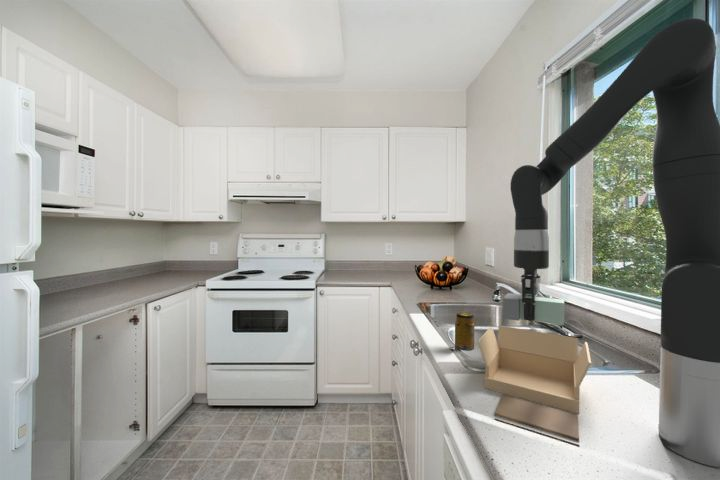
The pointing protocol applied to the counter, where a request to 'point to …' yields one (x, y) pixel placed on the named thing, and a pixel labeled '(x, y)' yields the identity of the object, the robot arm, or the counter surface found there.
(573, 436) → the board
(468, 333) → the condiment
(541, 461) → the counter surface
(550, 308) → the box
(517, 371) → the carton
